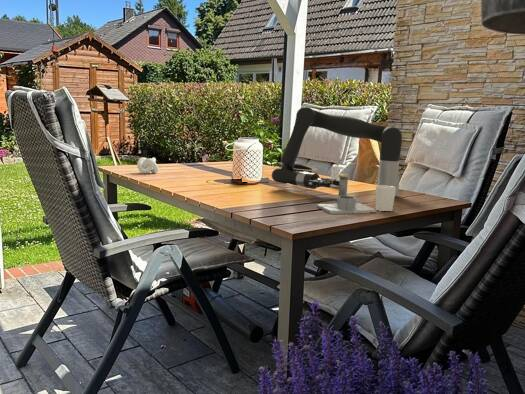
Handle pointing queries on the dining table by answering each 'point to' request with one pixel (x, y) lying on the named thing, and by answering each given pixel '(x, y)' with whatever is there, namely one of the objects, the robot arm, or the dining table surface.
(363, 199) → the dining table surface
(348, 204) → the hinge leaves
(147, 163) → the white animal figurine
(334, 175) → the sitting furry creature
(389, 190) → the white cup
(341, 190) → the hinge pin
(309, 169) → the stone bowl
